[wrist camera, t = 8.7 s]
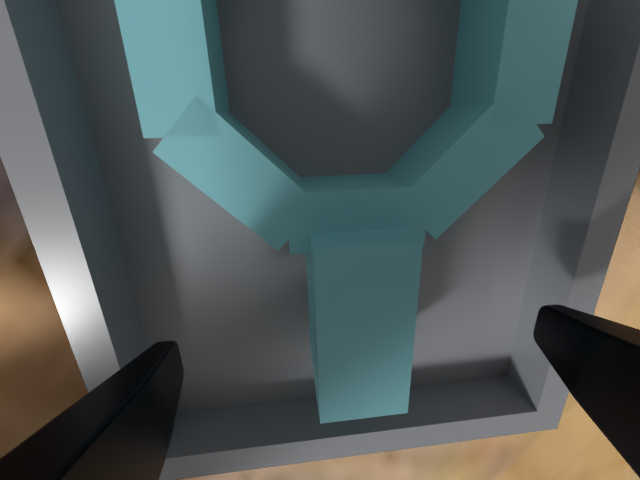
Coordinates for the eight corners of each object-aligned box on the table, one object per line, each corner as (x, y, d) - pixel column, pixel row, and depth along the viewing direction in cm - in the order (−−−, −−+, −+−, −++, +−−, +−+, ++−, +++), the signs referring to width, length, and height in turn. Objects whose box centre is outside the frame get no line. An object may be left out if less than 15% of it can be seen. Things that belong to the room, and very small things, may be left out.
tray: (511, 377, 14) (556, 428, 12) (151, 419, 13) (123, 486, 10) (679, -352, 7) (877, -581, 5) (-99, -442, 6) (-369, -840, 3)
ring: (465, 333, 12) (520, 399, 9) (213, 358, 11) (192, 439, 8) (545, -179, 7) (714, -366, 4) (112, -204, 6) (-21, -459, 4)
